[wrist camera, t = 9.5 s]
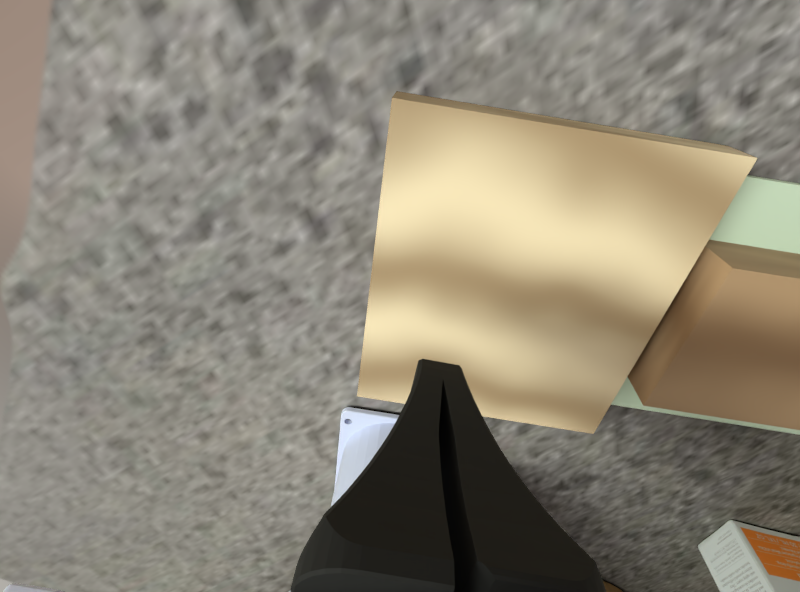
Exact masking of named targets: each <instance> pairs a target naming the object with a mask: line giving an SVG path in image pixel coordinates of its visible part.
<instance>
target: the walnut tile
mask: <svg viewBox="0 0 800 592" xmlns="http://www.w3.org/2000/svg"><path fill="white" fill-rule="evenodd" d="M627 377H628V378H629V380H630V382H631V384H632V386H633V388H634V389H635V391H636V393H637V395H638V397H639V399H640V401H641V402H642V404H643V406H649V407H656V408H662V409H668V410H675V411H681V412H687V413H694V414H700V415H706V416H713V417H719V418H726V419H732V420H738V421H745V422H751V423H757V424H764V425H770V426H776V427H783V428H789V429H795V430H800V254H797V253H791V252H784V251H778V250H772V249H766V248H759V247H753V246H747V245H741V244H734V243H728V242H722V241H715V240H708V242H707V244H706V246H705V247H704V249H703V251H702V252H701V254H700V256H699V257H698V259H697V261H696V262H695V264H694V266H693V267H692V269H691V271H690V272H689V274H688V276H687V277H686V279H685V281H684V282H683V284H682V286H681V287H680V289H679V291H678V293H677V294H676V296H675V298H674V299H673V301H672V303H671V304H670V306H669V308H668V309H667V311H666V313H665V314H664V316H663V318H662V319H661V321H660V323H659V324H658V326H657V328H656V329H655V331H654V333H653V335H652V336H651V338H650V340H649V341H648V343H647V345H646V346H645V348H644V350H643V351H642V353H641V355H640V356H639V358H638V360H637V361H636V363H635V365H634V366H633V368H632V370H631V371H630V373H629V375H628V376H627Z"/></svg>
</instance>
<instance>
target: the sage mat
mask: <svg viewBox="0 0 800 592" xmlns="http://www.w3.org/2000/svg"><path fill="white" fill-rule="evenodd" d="M709 240H715V241H722V242H728V243H734V244H741V245H747V246H753V247H759V248H766V249H772V250H778V251H784V252H791V253H797V254H800V184H799V183H793V182H787V181H781V180H775V179H769V178H763V177H757V176H750V175H747V177H746V178H745V180H744V182H743V183H742V185H741V187H740V188H739V190H738V192H737V193H736V195H735V197H734V199H733V200H732V202H731V204H730V205H729V207H728V209H727V210H726V212H725V214H724V215H723V217H722V219H721V220H720V222H719V224H718V225H717V227H716V229H715V230H714V232H713V234H712V235H711V237H710V239H709ZM611 405H617V406H623V407H629V408H636V409H642V410H648V411H654V412H661V413H667V414H673V415H679V416H686V417H692V418H698V419H705V420H711V421H717V422H723V423H730V424H736V425H742V426H748V427H755V428H761V429H767V430H773V431H780V432H786V433H792V434H798V435H800V430H795V429H789V428H783V427H776V426H770V425H764V424H757V423H751V422H745V421H738V420H732V419H726V418H719V417H713V416H706V415H700V414H694V413H687V412H681V411H675V410H668V409H662V408H656V407H649V406H643V404H642V402H641V401H640V399H639V397H638V395H637V393H636V391H635V389H634V388H633V386H632V384H631V382H630V380H629V378H628V377H627V378H626V380H625V382H624V383H623V385H622V387H621V388H620V390H619V392H618V393H617V395H616V397H615V398H614V400H613V402H612V403H611Z"/></svg>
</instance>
